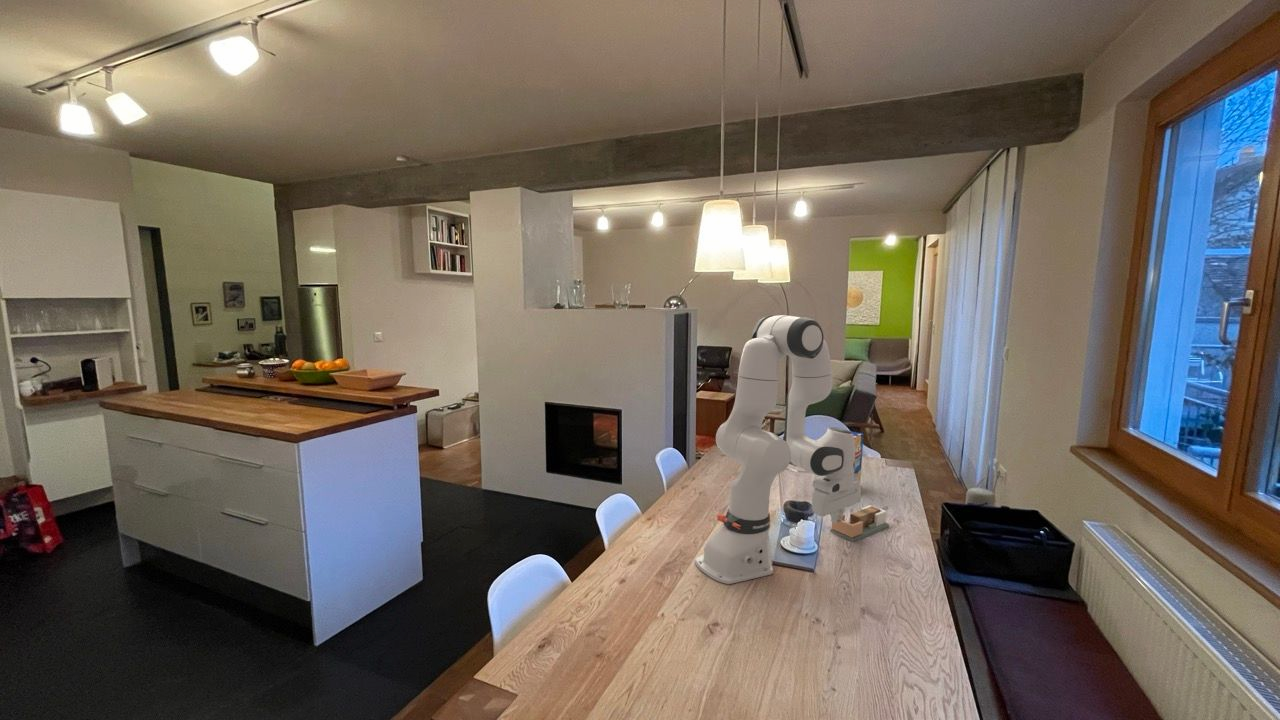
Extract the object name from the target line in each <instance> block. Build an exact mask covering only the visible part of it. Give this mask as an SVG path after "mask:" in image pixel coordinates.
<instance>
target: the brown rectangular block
mask: <svg viewBox="0 0 1280 720" xmlns="http://www.w3.org/2000/svg"><path fill="white" fill-rule="evenodd" d="M872 506H873V505H871V507H868V508H865V509H863V510H861V509H860V510H858V511H855V512H852V513H850V517H849V522H850V524H855V523H857V522H860V521H862V522H863V529H864V528H866V527H868V525H870V524H872V523H874V519H875V514H876V513H879V512H880V509H881V508H879V509H878V507H876V506H874V507H872ZM875 507H876V508H875Z"/></svg>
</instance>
